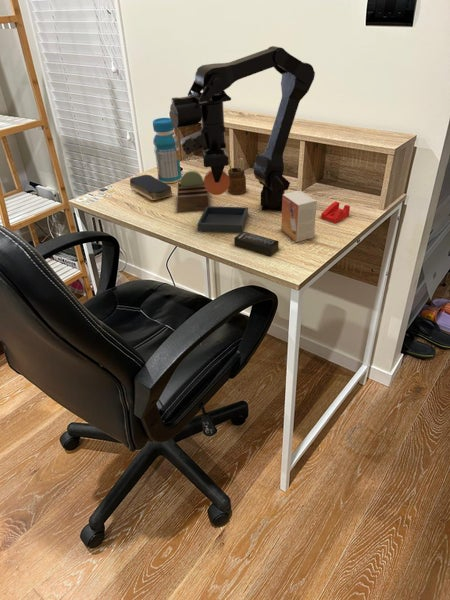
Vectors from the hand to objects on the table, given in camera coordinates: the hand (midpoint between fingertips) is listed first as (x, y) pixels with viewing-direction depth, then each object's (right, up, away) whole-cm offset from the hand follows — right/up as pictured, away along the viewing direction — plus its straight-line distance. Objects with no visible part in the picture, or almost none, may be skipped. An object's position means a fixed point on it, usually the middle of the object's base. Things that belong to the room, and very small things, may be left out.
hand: (216, 181), depth 123 cm
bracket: (+33, -9, +5) cm, 35 cm away
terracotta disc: (0, 0, 0) cm, 0 cm away
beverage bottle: (-17, +10, +35) cm, 40 cm away
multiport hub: (+10, -19, -7) cm, 23 cm away
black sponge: (-22, +3, +26) cm, 35 cm away
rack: (-8, -2, +18) cm, 20 cm away
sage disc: (-8, +4, +18) cm, 20 cm away
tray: (+2, -10, +6) cm, 12 cm away
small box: (+22, -15, -2) cm, 26 cm away
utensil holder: (+6, +3, +24) cm, 25 cm away
